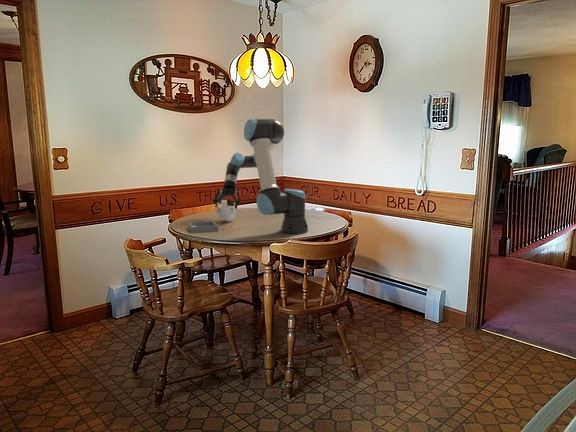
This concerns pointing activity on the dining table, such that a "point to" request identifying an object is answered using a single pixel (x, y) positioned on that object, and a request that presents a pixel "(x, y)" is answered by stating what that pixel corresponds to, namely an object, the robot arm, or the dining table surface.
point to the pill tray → (203, 226)
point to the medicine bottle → (226, 211)
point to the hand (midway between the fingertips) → (225, 212)
